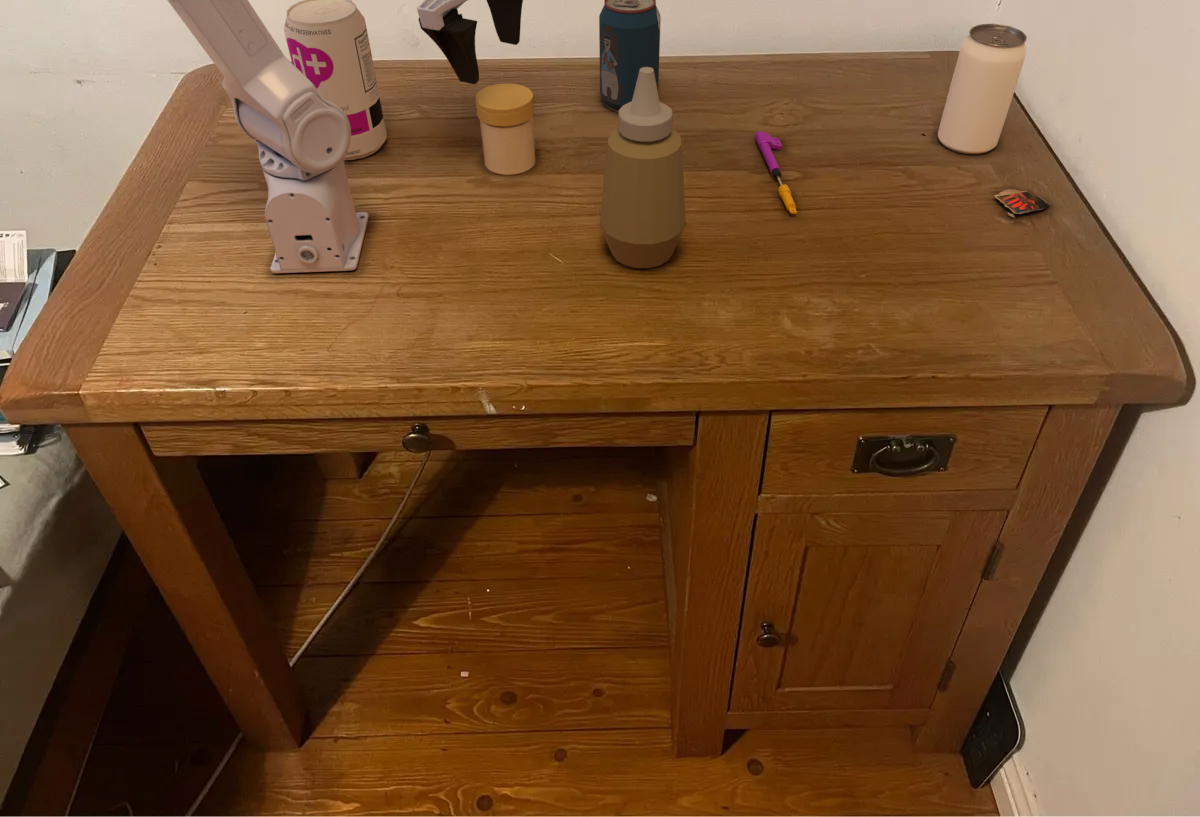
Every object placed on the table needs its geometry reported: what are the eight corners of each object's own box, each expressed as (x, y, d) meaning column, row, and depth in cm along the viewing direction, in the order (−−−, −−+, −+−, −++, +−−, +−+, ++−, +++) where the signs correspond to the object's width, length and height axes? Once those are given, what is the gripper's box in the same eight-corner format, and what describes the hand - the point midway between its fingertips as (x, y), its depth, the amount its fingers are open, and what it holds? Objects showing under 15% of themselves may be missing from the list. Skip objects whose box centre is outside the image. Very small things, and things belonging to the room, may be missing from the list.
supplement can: (348, 170, 99) (317, 32, 89) (299, 148, 103) (263, 13, 92) (403, 141, 104) (379, 6, 93) (353, 120, 107) (325, -12, 97)
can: (990, 128, 104) (1023, 22, 96) (1002, 157, 100) (1038, 48, 91) (932, 126, 105) (960, 20, 96) (941, 154, 100) (971, 46, 92)
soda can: (662, 92, 112) (666, -9, 103) (651, 119, 107) (654, 15, 98) (607, 87, 113) (607, -14, 104) (593, 112, 108) (592, 9, 100)
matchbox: (1053, 206, 92) (1055, 202, 92) (1019, 222, 90) (1021, 218, 90) (1015, 186, 95) (1017, 182, 95) (982, 201, 93) (983, 197, 93)
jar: (535, 174, 98) (531, 113, 93) (483, 176, 98) (476, 114, 93) (535, 148, 102) (531, 88, 97) (485, 150, 102) (479, 90, 97)
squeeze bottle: (677, 282, 84) (689, 96, 72) (592, 272, 85) (588, 88, 73) (689, 233, 90) (701, 53, 77) (608, 224, 91) (607, 46, 78)
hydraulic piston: (752, 137, 103) (786, 217, 92) (756, 128, 102) (790, 207, 91) (774, 141, 103) (810, 221, 92) (778, 132, 103) (815, 211, 91)
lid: (534, 126, 94) (533, 108, 93) (476, 128, 94) (474, 110, 93) (534, 99, 98) (533, 82, 97) (478, 100, 98) (476, 83, 97)
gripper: (448, -34, 78) (482, 106, 89) (537, -106, 85) (559, 31, 96) (384, -44, 81) (425, 93, 91) (475, -114, 88) (503, 21, 99)
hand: (490, 61), depth 94 cm, fingers open, 7 cm apart
